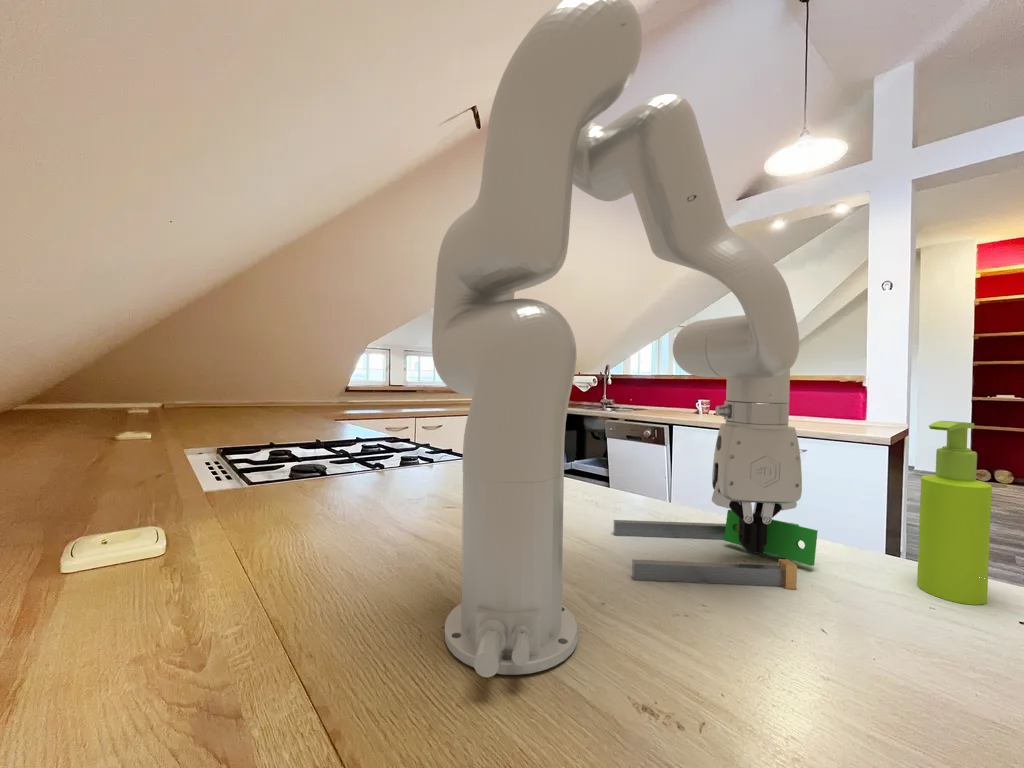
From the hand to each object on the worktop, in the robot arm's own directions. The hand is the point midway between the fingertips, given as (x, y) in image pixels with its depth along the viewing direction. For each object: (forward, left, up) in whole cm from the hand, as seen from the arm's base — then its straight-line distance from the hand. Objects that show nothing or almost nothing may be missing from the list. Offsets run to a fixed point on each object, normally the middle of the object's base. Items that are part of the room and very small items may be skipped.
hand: (752, 549), depth 62 cm
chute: (0, +8, -1) cm, 9 cm away
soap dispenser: (-8, -19, -2) cm, 20 cm away
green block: (+1, -3, -1) cm, 4 cm away
